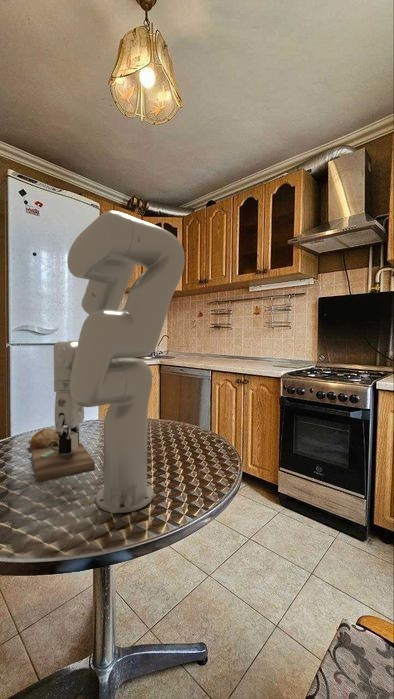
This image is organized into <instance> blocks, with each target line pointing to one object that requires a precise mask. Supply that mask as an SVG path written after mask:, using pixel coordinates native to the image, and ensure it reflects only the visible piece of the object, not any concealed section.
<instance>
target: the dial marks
mask: <svg viewBox="0 0 394 699" xmlns="http://www.w3.org/2000/svg"><path fill="white" fill-rule="evenodd" d="M75 449H76V448H74V449H73V450H75ZM54 453H56V452H55V451H49V452H46V453H44V454H43V455H41V456H40V457H48V456H50V455H52V454H54Z"/></svg>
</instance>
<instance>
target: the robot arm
mask: <svg viewBox="0 0 394 699" xmlns="http://www.w3.org/2000/svg"><path fill="white" fill-rule="evenodd" d="M185 257H186V256H185V251H184V247H183V245H182V244H181V242H180V240H179V239H178V237H176V235H174V234H173V233H172V232H170V231H169V230H166V229H164V228H163V227H160V226H158V225H156V224H153V223H151V222H147V221H146V220H142V219H140V218H137V217H134V216H131V215H130V214H127V213H124V212H121V211H117V210H107V211H105V212H103V213H101V214H100V215H99V216H97V218H95V219H94V221H92V222H91V223H90V224H89V225H88V226H87V227H86V228H85V229H84V230H82V232H81V233H80V234H79V235H78V236H77V237H76V238H75V239H74V241H73V243H72V244H71V246H70V248H69V251H68V254H67V260H66V261H67V268H68V271H69V273H70V274H71V275H73V276H74V277H76V278H79V279H83V280H88V282H87V285H86V288H85V292H84V295H83V298H82V300H81V307H82V310H83V311H84V312H85V313H86V314H88V316H87V317H86V319H85V320H84V321H83V323H82V326H81V329H80V332H79V336H78V340H67V341H58V342H57V341H56V342H55V343H54V344H53V345H54V346H53V392H55V399H54V427H55V429H56V433H57V435H58V440H59V453H60V454H70V453H71V438H70V432H71V431H73V432H76V433H78V445H79V443H80V424H81V423H82V422H83V421H84V420H85V410H84V409H85V408H96V407H100V406H107V405H109V406H108V409H107V410H106V414H105V416H104V421H103V487H102V488H100V489H99V490H98V491H97V493H96V495H95V497H96V498H95V502H96V505H97V507H99V508H100V509H102V511H105V512H107V513H108V512H109V513H111V514H119V513H120V514H121V513H130V512H134V511H138V510H140V509H142V508H144V507H146V506H147V505H149V504H150V503H151V502H152V500H153V498H154V497H155V496H154V493H155V492H154V491H155V490H154V488H153V485H151V484H150V483H148V414H149V413H148V412H149V402H150V397H151V392H152V386H153V373H152V370H151V368H150V366H149V365H148V363H146V362H145V361H143V360H142V359H139V358H140V357H147V356H150V355H151V354H152V353H153V352H154V351H155V350H156V348H157V345H158V344H159V339H160V337H161V333H162V330H163V327H164V324H165V321H166V317H167V314H168V311H169V307H170V303H171V300H172V298H173V297H174V296H173V295H174V293H175V291H176V289H177V287H178V285H179V282H180V281H181V278H182V276H183V274H184V273H183V272H184V269H185V260H186V259H185ZM135 265H136V266H140V267H144V268H146V270H145V271H143V272H142V273H141V274H140V275H139V276H138V277H137V278H136V279H135V281H134V282H133V283H132V285H131V286H130V288H129V291H128V295H127V299H126V301H125V305H124V307H123V308H122V309H119V308H120V306H121V303H122V300H123V298H124V296H125V293H126V291H127V288H128V286H129V284H130V281H131V279H132V276H133V274H134V270H135V267H136V266H135ZM64 426H67V427H64ZM64 430H67V433H66V432H65V431H64Z"/></svg>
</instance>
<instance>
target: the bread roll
mask: <svg viewBox="0 0 394 699" xmlns="http://www.w3.org/2000/svg"><path fill="white" fill-rule="evenodd" d="M27 443H28V445H29V448H30V450H31V452H32V451H33V450H39V449H45V448H51V447H56V446H59V445H58V435H57V433H56V428H44V429H41V430H39V431H37V432H35V434H34V435H32V436H31V438H30V440H29V441H28V442H27Z"/></svg>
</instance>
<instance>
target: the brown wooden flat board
mask: <svg viewBox="0 0 394 699" xmlns="http://www.w3.org/2000/svg"><path fill="white" fill-rule="evenodd" d="M56 448H58V449H59V446H56ZM49 451H55V450H53V449H52V447H51V448H45V449H39V450H33V451H32V450H31V461H32V465H33V470H34V474H35V479H36V483H39V482H43V481H48V480H52V479H57V478H61V477H65V476H70V475H75V474H80V473H85V472H89V471H92V470H96V465H95V464H96V463H95V460H94V459H93V458H92V456H91V455H90V453H89V452H88V451H87V449H86V448H85V446H84V445H83V443H82V442H80V441H79V445H78V447H77V448H76V449H75V450H73V449H72V451H73V452H74V455H73V456H72V457H70V458H64V457H62V454H60V453H59V452H58V451H55V452H56V453H54V454H52V455H50V456H48V457H40V456H41V455H43V454H44V453H46V452H49Z"/></svg>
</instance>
